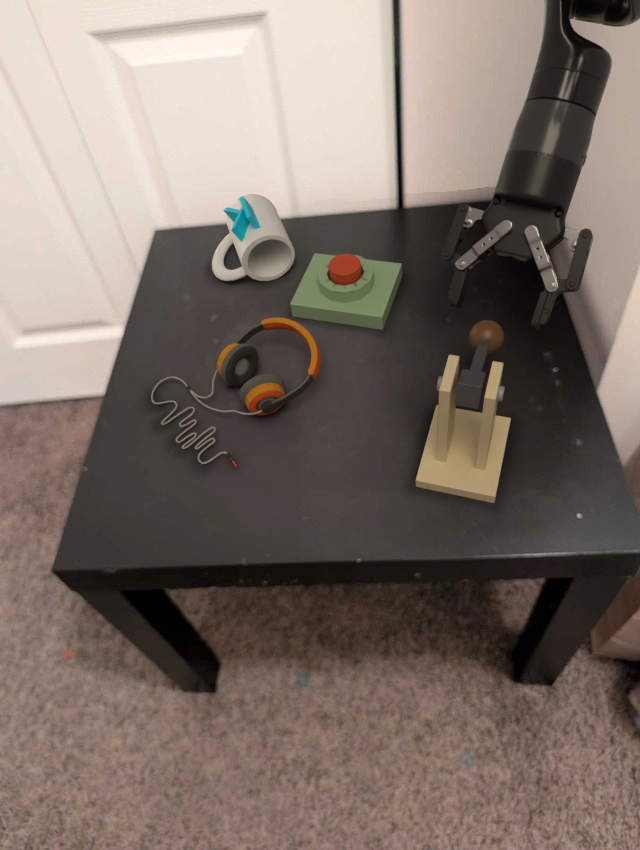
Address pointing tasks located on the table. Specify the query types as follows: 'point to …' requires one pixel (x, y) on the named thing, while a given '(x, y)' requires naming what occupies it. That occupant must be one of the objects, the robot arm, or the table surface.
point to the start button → (345, 269)
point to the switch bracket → (465, 440)
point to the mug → (254, 241)
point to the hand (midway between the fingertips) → (494, 317)
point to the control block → (347, 293)
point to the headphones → (250, 379)
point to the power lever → (478, 363)
